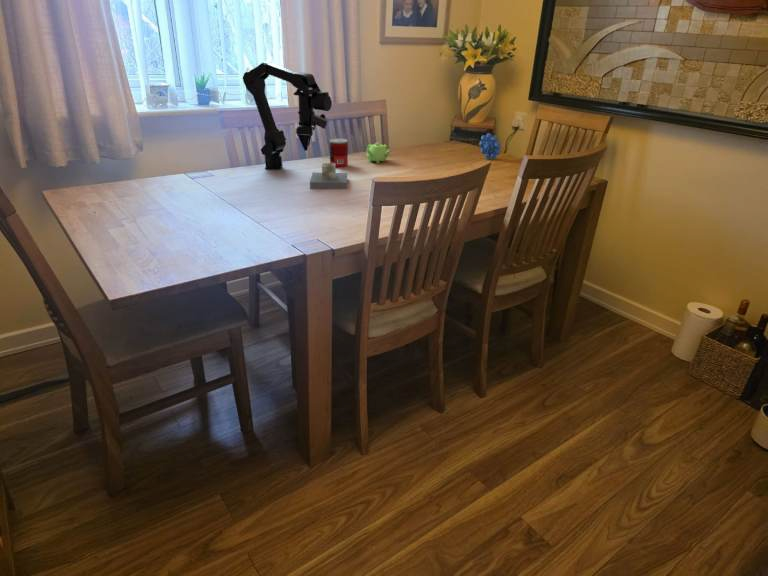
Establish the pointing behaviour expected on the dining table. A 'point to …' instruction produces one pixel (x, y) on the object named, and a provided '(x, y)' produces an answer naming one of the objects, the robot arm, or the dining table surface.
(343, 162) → the canned food
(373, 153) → the green rounded lump
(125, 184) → the dining table surface
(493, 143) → the grapes
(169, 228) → the dining table surface
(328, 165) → the sage block
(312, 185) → the base slab
